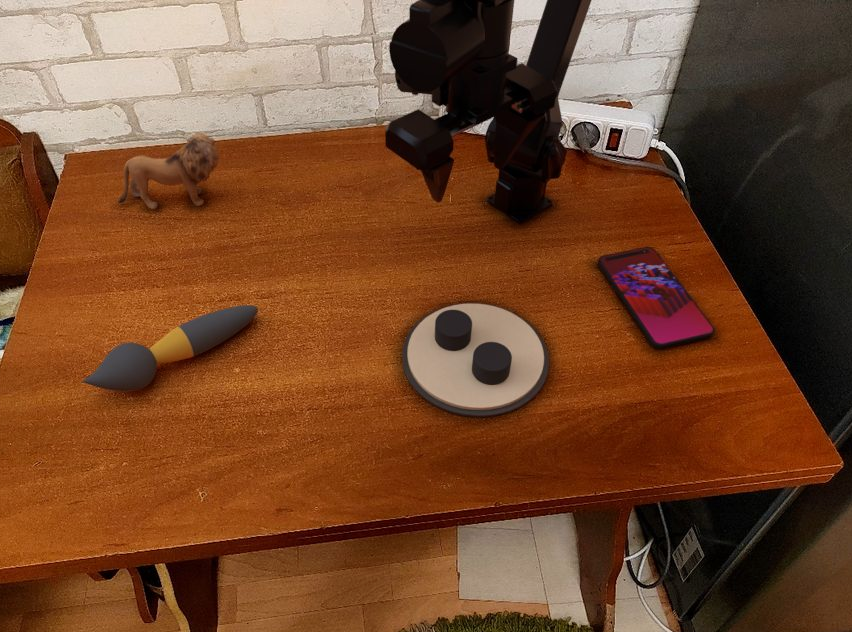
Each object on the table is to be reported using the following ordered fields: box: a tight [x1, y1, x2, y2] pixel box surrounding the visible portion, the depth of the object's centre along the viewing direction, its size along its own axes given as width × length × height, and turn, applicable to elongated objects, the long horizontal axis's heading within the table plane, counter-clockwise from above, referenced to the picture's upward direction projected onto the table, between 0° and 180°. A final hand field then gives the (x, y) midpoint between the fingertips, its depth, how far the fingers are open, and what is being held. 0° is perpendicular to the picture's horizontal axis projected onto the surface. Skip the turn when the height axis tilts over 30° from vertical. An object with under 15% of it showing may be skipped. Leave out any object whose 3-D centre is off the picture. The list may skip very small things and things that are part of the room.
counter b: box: [472, 342, 512, 385], centre depth 72 cm, size 4×4×2 cm
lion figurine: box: [117, 132, 220, 210], centre depth 90 cm, size 15×5×9 cm, turn 103°
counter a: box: [435, 310, 472, 351], centre depth 75 cm, size 4×4×2 cm
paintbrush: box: [81, 304, 259, 392], centre depth 74 cm, size 20×5×5 cm, turn 134°
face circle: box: [401, 302, 550, 418], centre depth 75 cm, size 16×16×1 cm
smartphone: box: [597, 246, 716, 350], centre depth 80 cm, size 8×1×15 cm
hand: (468, 183), depth 76 cm, fingers open, 9 cm apart
